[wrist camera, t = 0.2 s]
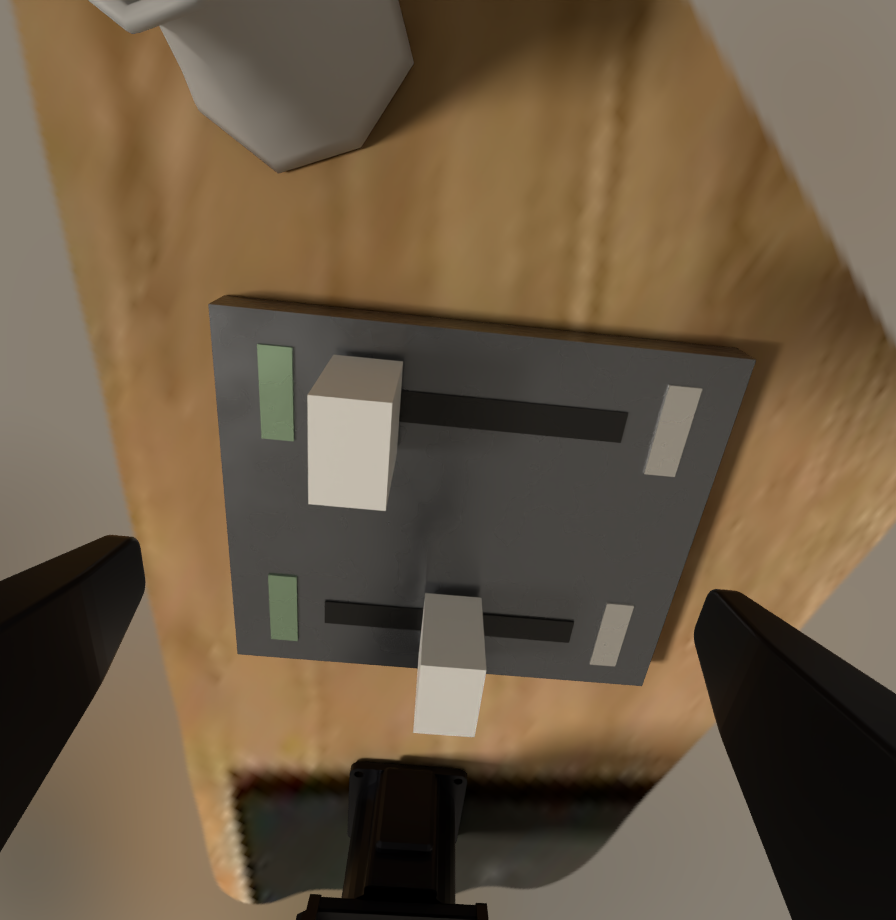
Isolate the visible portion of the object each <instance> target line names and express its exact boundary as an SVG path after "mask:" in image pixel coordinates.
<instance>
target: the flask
mask: <svg viewBox="0 0 896 920" xmlns="http://www.w3.org/2000/svg"><path fill="white" fill-rule="evenodd" d="M89 1H90V2H91V3H92V4H94V5H95V6H96V7H97V8H99V9H100V10H101V11H102V12H104V13H105V14H106V15H107V16H109V17H110V18H111V19H112V20H114V21H115V22H116V23H117V24H119V25H120V26H121V27H122V28H124V29H125V30H126V31H128V32H130V33H131V34H135V33H140V32H143V31H146V30H149V29H152V28H154V27H157V26H160V28H161V30H162V32H163V34H164V36H165V38H166V40H167V42H168V44H169V46H170V48H171V50H172V52H173V54H174V56H175V58H176V60H177V62H178V64H179V66H180V68H181V70H182V72H183V74H184V77H185V79H186V82H187V84H188V87H189V89H190V92H191V94H192V97H193V99H194V102H195V104H196V106H197V108H198V110H199V111H200V112H201V113H202V114H204V115H205V116H206V117H207V118H209V119H210V120H211V121H212V122H214V123H215V124H216V125H218V126H219V127H220V128H221V129H223V130H224V131H225V132H226V133H228V134H229V135H230V136H231V137H233V138H234V139H235V140H236V141H238V142H239V143H240V144H242V145H243V146H244V147H245V148H247V149H248V150H249V151H250V152H252V153H253V154H254V155H255V156H257V157H258V158H259V159H260V160H262V161H263V162H264V163H266V164H267V165H268V166H269V167H271V168H272V169H273V170H274V171H276V172H277V173H281V172H285V171H288V170H291V169H294V168H297V167H301V166H304V165H307V164H310V163H313V162H317V161H320V160H323V159H326V158H329V157H332V156H336V155H339V154H342V153H345V152H348V151H352V150H355V149H358V148H361V147H362V145H363V144H364V142H365V140H366V139H367V137H368V136H369V134H370V132H371V131H372V129H373V128H374V126H375V124H376V123H377V121H378V120H379V118H380V116H381V115H382V113H383V112H384V110H385V109H386V107H387V105H388V104H389V102H390V101H391V99H392V97H393V96H394V94H395V93H396V91H397V89H398V88H399V86H400V85H401V83H402V81H403V80H404V78H405V77H406V75H407V73H408V72H409V70H410V69H411V67H412V65H413V64H414V61H413V57H412V53H411V49H410V45H409V41H408V37H407V33H406V29H405V25H404V21H403V17H402V13H401V8H400V4H399V0H89Z"/></svg>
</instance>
